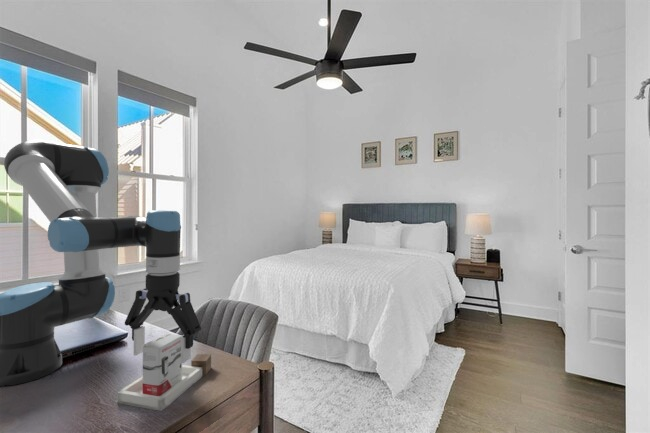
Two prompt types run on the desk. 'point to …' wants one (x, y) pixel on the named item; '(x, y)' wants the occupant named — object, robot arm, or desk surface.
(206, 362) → the block
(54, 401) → the desk surface
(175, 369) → the ink box
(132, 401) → the parts tray
